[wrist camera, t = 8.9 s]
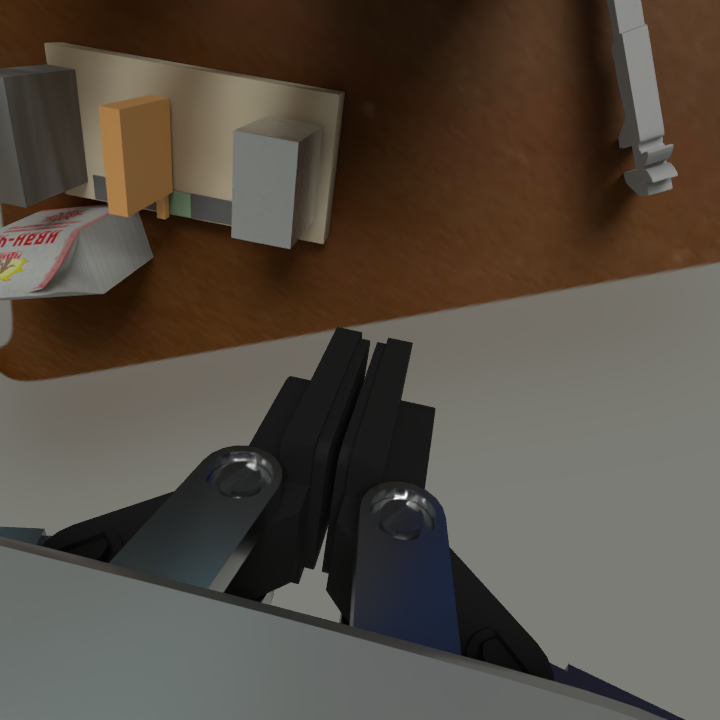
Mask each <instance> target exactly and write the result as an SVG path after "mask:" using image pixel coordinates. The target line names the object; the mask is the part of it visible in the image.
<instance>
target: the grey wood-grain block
mask: <svg viewBox="0 0 720 720" xmlns="http://www.w3.org/2000/svg"><path fill="white" fill-rule="evenodd" d="M322 135H323V125H318V124H313V123H307V122H302V121H296V120H291V119H285V118H279V117H274V116H268V115H267V116H265V117H263V118H260V119H258V120H256V121H254V122H251V123H249V124H247V125H245V126H242V127H240V128H238V129H236V130H233V174H232V229H231V238H236V239H241V240H246V241H251V242H256V243H261V244H266V245H271V246H276V247H282V248H287V249H291V248H292V247H293V245H294V244H295V243H296V242H297V240H298V239H299V238H300V237H301V235H302V234H303V233H304V232H305V230H306V229H307V228H308V226H309V225H310V224H311V223H312V221H313V220H314V217H315V207H316V196H317V186H318V176H319V166H320V156H321V145H322Z"/></svg>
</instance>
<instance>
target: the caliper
mask: <svg viewBox="0 0 720 720" xmlns="http://www.w3.org/2000/svg"><path fill="white" fill-rule="evenodd" d="M607 5H608V10H609V16H610V22H611V28H612V34H613V40H614V42H613V43H612V45H611V50H612V55H613V60H614V64H615V69H616V78H617V84H618V88H619V92H620V96H621V100H622V103H623V107H624V113H625V121H624V124H623V127H622V129H621V132H620V135H619V146H620V148H622V149H624V148H627V147H630V146H632V150H633V156H634V161H635V166H636V169H634V170H631V171H627V172H624V178H625V181H626V183H627V184H628V186H629V187H630V188H631V189H632V190H633V191H635V192H636V193H637V194H638V195H639V196H647V195H651V194H655V193H659V192H662V191H666V190H669V189H672V182H671V177H674V176H677V175H678V174H677V171H676V170H675V168H674V167H673V165H672V164H671V163H667V162H666V160H667V159H669V158H670V156H671V153H672V150H673V144H669V145H666V146H665V144H663V138H662V136H664V127H663V120H662V114H661V108H660V101H659V95H658V89H657V82H656V76H655V70H654V64H653V57H652V51H651V45H650V38H649V32H648V26H647V24H644V18H643V11H642V5H641V0H607Z"/></svg>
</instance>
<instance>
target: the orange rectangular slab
mask: <svg viewBox="0 0 720 720" xmlns="http://www.w3.org/2000/svg"><path fill="white" fill-rule="evenodd" d="M98 108H99V118H100V128H101V138H102V148H103V158H104V168H105V178H106V189H107V199H108V209H109V214H113V215H119V216H124V217H129V216H131V215H133V214H135V213H137V212H138V211H140V210H142V209H144V208H145V207H147V206H149V205H151V204H153V203H154V202H156V205H157V218H160V219H167V218H169V198H168V195H169V194H170V193H172V192H173V185H172V158H171V132H170V105H169V98H168V97H163V96H157V95H152V94H151V95H146V96H142V97H137V98H132V99H128V100H123V101H119V102H114V103H109V104H105V105H100V106H98Z"/></svg>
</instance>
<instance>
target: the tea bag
mask: <svg viewBox="0 0 720 720" xmlns="http://www.w3.org/2000/svg"><path fill="white" fill-rule="evenodd" d="M152 258H153V254H152V251H151V248H150V245H149V242H148V239H147V236H146V233H145V230H144V227H143V224H142V221H141V218H140V215H139V211H138V212H137V213H135V214H133V215H131V216H129V217H124V216H119V215H113V214H109V209H108V204H100V205H90V206H81V207H71V208H61V209H51V210H42V211H39V212H37V213H35V214H33V215H30V216H28V217H26V218H23V219H21V220H19V221H16V222H14V223H12V224H10V225H7V226H5V227H3V228H0V300H15V299H30V298H46V297H62V296H78V295H93V294H104V293H106V292H107V291H108V290H110V289H111V288H113V287H114V286H115V285H117V284H118V283H119V282H121V281H122V280H123V279H125V278H126V277H127V276H129V275H130V274H132V273H133V272H134V271H136V270H137V269H138V268H140V267H141V266H142V265H144V264H145V263H146V262H148V261H149V260H150V259H152Z"/></svg>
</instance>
